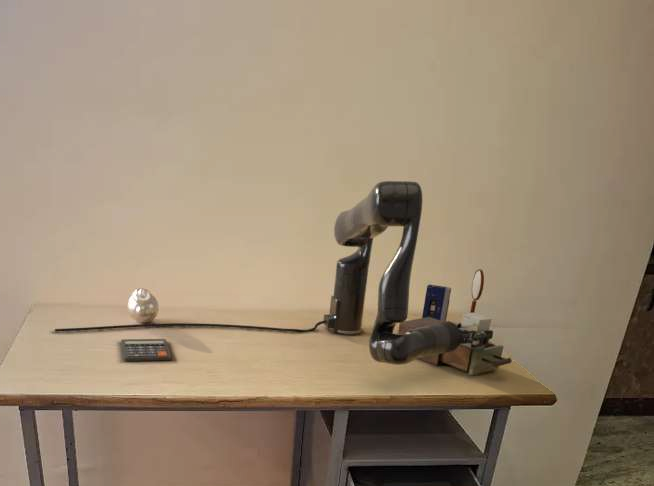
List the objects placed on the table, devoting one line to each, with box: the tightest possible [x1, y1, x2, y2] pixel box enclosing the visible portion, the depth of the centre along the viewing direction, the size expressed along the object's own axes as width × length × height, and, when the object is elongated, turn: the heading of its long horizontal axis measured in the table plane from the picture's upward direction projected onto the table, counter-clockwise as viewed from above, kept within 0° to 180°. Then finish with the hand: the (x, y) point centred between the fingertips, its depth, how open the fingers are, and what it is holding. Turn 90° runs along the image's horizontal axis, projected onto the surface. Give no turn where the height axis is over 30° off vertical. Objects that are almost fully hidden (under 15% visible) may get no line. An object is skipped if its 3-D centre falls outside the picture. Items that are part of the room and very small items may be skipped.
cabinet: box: [397, 317, 445, 366], centre depth 193 cm, size 15×12×8 cm
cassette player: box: [421, 284, 452, 322], centre depth 218 cm, size 7×2×12 cm, turn 67°
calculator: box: [120, 338, 172, 362], centre depth 182 cm, size 12×1×15 cm
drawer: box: [439, 341, 512, 376], centre depth 184 cm, size 19×11×6 cm, turn 38°
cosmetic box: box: [461, 311, 492, 365], centre depth 182 cm, size 6×4×12 cm
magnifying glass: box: [469, 268, 485, 313], centre depth 206 cm, size 9×2×20 cm, turn 0°
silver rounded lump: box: [127, 287, 160, 324], centre depth 201 cm, size 9×9×10 cm
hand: (479, 330), depth 183 cm, fingers open, 7 cm apart
